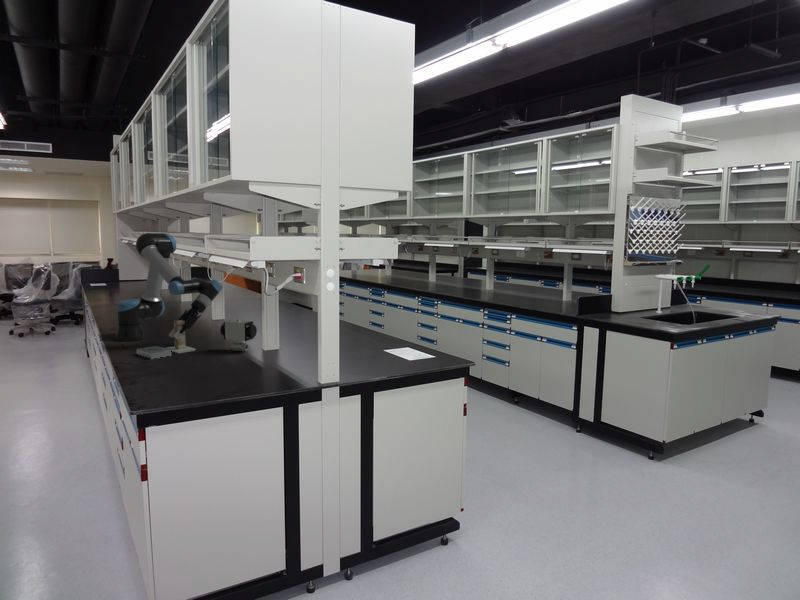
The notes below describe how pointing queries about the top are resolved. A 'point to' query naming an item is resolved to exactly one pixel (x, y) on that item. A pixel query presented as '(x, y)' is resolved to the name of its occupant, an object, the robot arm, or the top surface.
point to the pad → (181, 349)
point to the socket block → (154, 352)
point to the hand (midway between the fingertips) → (173, 336)
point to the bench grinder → (238, 333)
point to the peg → (181, 340)
